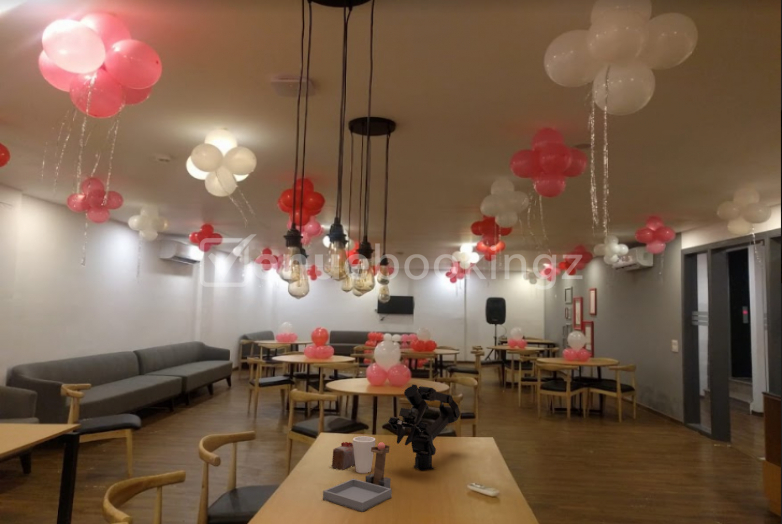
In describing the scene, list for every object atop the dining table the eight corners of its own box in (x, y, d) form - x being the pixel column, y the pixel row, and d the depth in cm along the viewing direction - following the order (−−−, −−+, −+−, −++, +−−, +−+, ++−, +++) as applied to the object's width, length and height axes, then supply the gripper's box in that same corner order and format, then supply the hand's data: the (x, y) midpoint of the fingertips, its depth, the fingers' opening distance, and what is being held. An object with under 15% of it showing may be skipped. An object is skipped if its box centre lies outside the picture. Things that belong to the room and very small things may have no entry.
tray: (353, 486, 203) (353, 478, 203) (391, 497, 193) (391, 489, 193) (322, 499, 189) (323, 490, 190) (362, 512, 179) (362, 502, 179)
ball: (382, 450, 205) (383, 442, 206) (386, 451, 203) (387, 443, 203) (375, 449, 204) (376, 441, 204) (379, 450, 201) (380, 442, 202)
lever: (375, 485, 204) (379, 443, 207) (385, 487, 201) (389, 445, 204) (367, 486, 200) (371, 444, 203) (377, 489, 197) (381, 446, 200)
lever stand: (371, 485, 205) (372, 473, 206) (390, 490, 200) (390, 478, 200) (365, 488, 202) (365, 476, 202) (384, 493, 197) (384, 481, 197)
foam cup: (371, 475, 217) (372, 442, 218) (349, 473, 219) (350, 441, 220) (376, 468, 226) (377, 437, 227) (355, 466, 228) (356, 435, 229)
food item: (347, 459, 238) (347, 437, 238) (362, 462, 234) (363, 439, 235) (330, 468, 226) (330, 444, 226) (345, 471, 222) (346, 447, 223)
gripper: (391, 397, 226) (374, 428, 216) (428, 403, 215) (413, 436, 205) (401, 413, 232) (385, 444, 222) (438, 419, 221) (423, 452, 211)
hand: (401, 444), depth 215 cm, fingers open, 4 cm apart
